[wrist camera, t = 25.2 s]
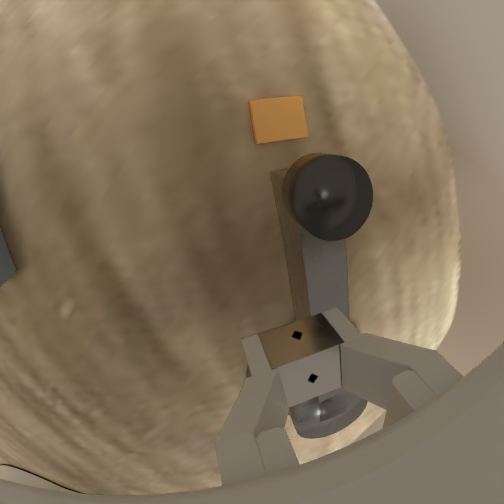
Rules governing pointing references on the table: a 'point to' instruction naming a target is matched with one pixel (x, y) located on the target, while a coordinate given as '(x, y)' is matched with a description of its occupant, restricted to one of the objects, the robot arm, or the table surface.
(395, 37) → the table surface
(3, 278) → the tray
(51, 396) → the table surface
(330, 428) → the crank arm
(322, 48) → the table surface
